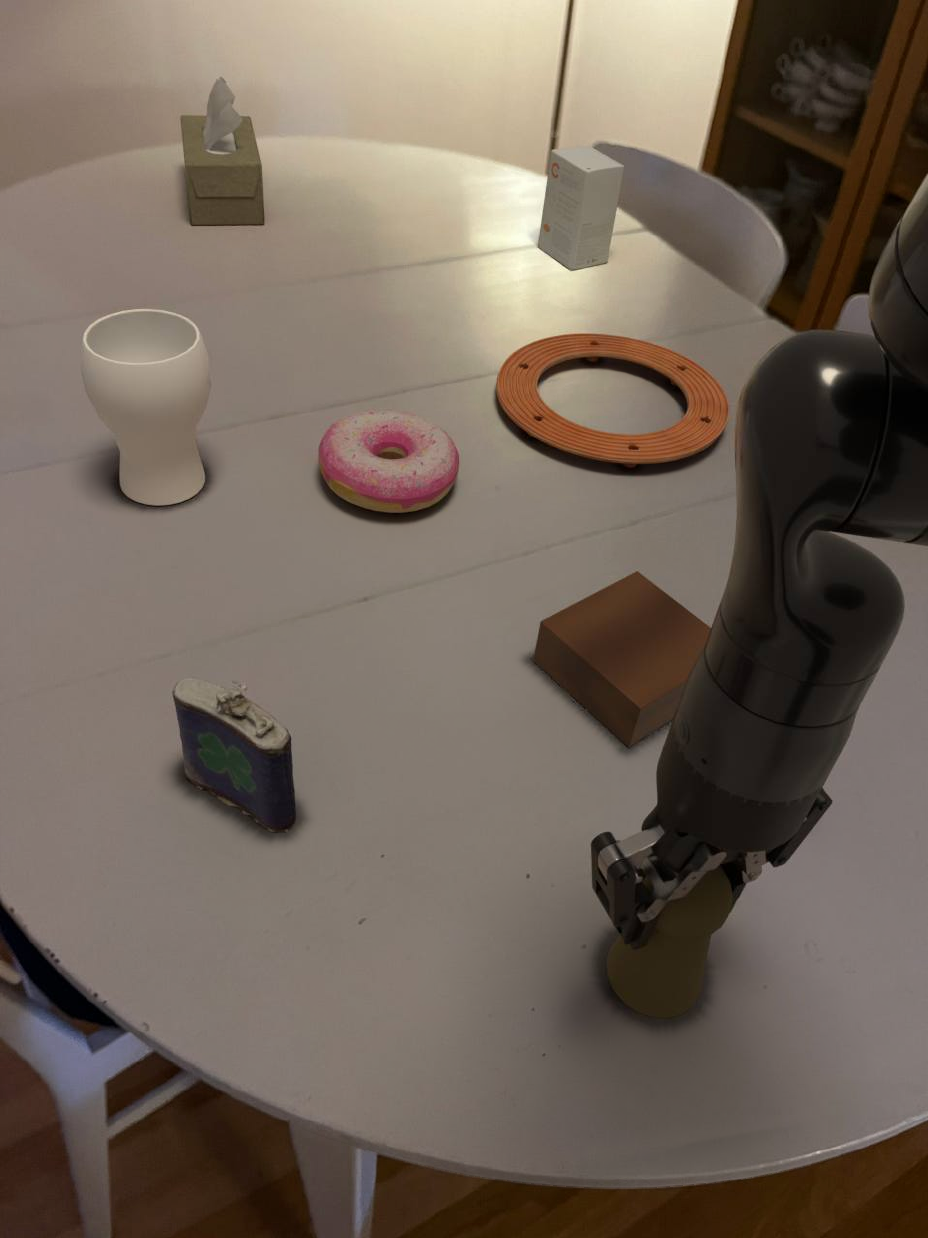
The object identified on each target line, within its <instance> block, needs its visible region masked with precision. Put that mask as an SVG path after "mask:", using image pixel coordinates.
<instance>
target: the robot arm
mask: <svg viewBox="0 0 928 1238" xmlns="http://www.w3.org/2000/svg"><path fill="white" fill-rule="evenodd" d="M867 306H868V307H867V308H868V317H869V323H870V327H871V330H872V332H873V335H871V334H867V333H859V332H853V331H845V330H838V329H837V330H836V329H827V328H816V329H815V328H814V329H813V328H812V329H811V328H810V329H806V330H803V331H797V332H795V333H793V334H791V335H789V336H787V337H785V338H783V339H782V340H780V341H779V342H778V343H777V344H775V345H774V346H773V347H771V348H770V349H769V350H768V351H767V352H766V353H765V354H764V355H763V356H762V357H761V358H760V359H759V360H758V362H757V363H756V365H755V366H754V368H752V370H751V372H750V373H749V374H748V375H747V378H746V380H745V382H744V385H743V387H742V389H741V392H740V396H739V399H738V403H737V408H736V413H735V427H734V430H735V431H734V466H735V467H734V468H735V469H734V470H735V492H736V493H735V495H736V518H735V519H736V520H735V532H734V534H735V535H734V544H733V553H732V558H731V563H730V564H731V565H730V569H729V574H728V578H727V581H726V585H725V588H724V591H723V594H722V596H721V599H720V601H719V602H720V603H719V605H718V608H717V610H716V614H715V616H714V619H713V622H712V624H711V626H710V628H711V630H710V633H709V636H708V638H707V641H706V643H705V646H704V648H703V649H702V651H701V653H700V655H699V656H698V658H697V660H696V661H695V663H694V665H693V667H692V669H691V671H690V674H689V676H688V679H687V681H686V684H685V687H684V690H683V692H682V695H681V698H680V701H679V704H678V707H677V709H676V712H675V715H674V718H673V719H672V720H671V724H670V727H669V729H668V732H667V735H666V737H665V741H664V744H663V746H662V750H661V752H660V755H659V758H658V761H657V765H656V773H655V781H656V805H655V806H654V807H653V809H652V810H651V812H650V813H649V814H648V815H647V816H646V817H645V818H644V820H643V821H642V824H641V831H639V832H637V833H635V834H633V835H631V836H629V837H627V838H624V839H622V840H619V839H616V838H615V836H614V835H613V833H612V832H611V831H604V832H601V833H600V834H597V835H596V836H595V837H594V838H593V839H592V840H591V842H590V863H591V888H592V890H593V892H594V894H595V895H596V898H597V899H598V901H599V902H600V904H601V906H602V908H603V909H604V911H605V913H606V914H607V916H608V917H609V920H610V922H611V923H612V925H613V926H614V928H615V930H616V932H617V933H618V936H619V935H620V937H621V938H622V940H623V942H624V944H625V945H627V944H629V945H630V947H631V948H632V949H633V950H637V949H640V948H642V947H645V946H646V945H647V943H648V940H649V938H650V936H651V933H652V931H653V928H654V926H655V924H656V921H657V919H658V917H659V916H658V914H659V913H660V912H661V910H662V909H663V908H664V907H665V906H666V905H667V903H668V902H669V901H670V900H676V899H682V898H684V897H685V896H686V895H687V894H688V893H689V892H690V891H691V889H692V888H693V887H694V886H695V885H696V884H697V882H698V881H699V880H700V879H701V878H702V877H703V876H704V874H705V873H706V872H707V871H709V870H714V869H716V868H717V867H718V865H720V866H721V867H722V869H723V870H724V872H725V874H726V875H727V877H728V879H729V881H730V884H731V889H732V905H731V911H730V913H729V914H731V913H732V911H733V909H734V907H735V905H736V903H737V901H738V900H739V898H740V897H741V895H742V893H743V891H744V890H745V888H746V885H747V884H749V883H752V882H754V881H756V880H757V879H758V878H759V877H760V876H761V875H762V873H763V867H762V866H764V865H766V864H768V863H770V865H771V866H772V867H773V868H778V867H781V866H783V865H785V864H786V863H788V861H789V860H790V859H791V858H792V856H793V855H794V853H796V851H797V849H799V847H800V846H801V845H802V843H803V842H804V840H805V839H806V838H807V837H808V835H809V834H810V833H811V831H812V830H813V829H814V828H815V826H816V825H817V824H818V822H819V821H820V820H821V819H822V817H824V815H825V813H826V812H827V811H828V809H830V807H831V806H832V804H833V799H832V798H831V797H830V795H829V794H828V793H827V792H826V791H825V788H824V786H825V784H826V782H827V780H828V778H829V777H830V774H831V772H832V771H833V768H834V767H835V765H836V763H837V761H838V759H839V758H840V756H841V754H842V752H843V750H844V748H845V747H846V745H847V743H848V740H849V738H850V736H851V733H852V731H853V727H854V723H855V720H856V716H857V714H858V711H859V709H860V706H861V705H862V702H863V701H864V699H865V698H866V695H867V693H868V691H869V690H870V687H872V684H873V682H874V680H875V678H876V677H877V675H878V673H879V671H880V670H881V667H882V665H883V663H884V661H885V659H887V658H886V657H888V654H889V652H890V650H891V648H892V647H893V644H894V643H895V641H896V639H897V637H898V634H899V631H900V629H901V626H902V624H903V619H904V615H905V607H906V606H905V605H906V604H905V595H904V592H903V591H904V590H903V588H902V586H901V582H900V581H899V579H898V577H897V576H896V574H895V573H894V572H893V570H892V569H891V568H890V567H889V565H888V564H886V563H885V562H884V561H883V559H881V558H879V556H877V555H876V554H874V553H873V552H872V551H870V550H868V549H867V548H865V547H863V546H862V545H860V544H858V543H856V542H854V541H852V540H850V539H847V538H845V537H844V536H840V535H838V534H844V535H852V536H856V537H862V538H870V539H875V540H876V539H877V540H882V541H883V540H885V541H891V542H896V543H904V544H911V545H916V546H923V547H928V172H926V175H925V176H924V178H923V180H922V181H921V183H920V185H919V187H918V188H917V190H916V191H915V193H914V195H913V197H912V198H911V200H910V202H909V203H908V205H907V207H906V209H905V210H904V213H903V214H902V215H901V217H900V219H899V220H898V222H897V224H896V225H895V227H894V229H893V231H892V232H891V234H890V237H889V238H888V240H887V242H886V243H885V245H884V247H883V249H882V251H881V253H880V255H879V259H878V261H877V262H876V266H875V268H874V270H873V273H872V276H871V280H870V285H869V289H868V305H867ZM836 533H837V534H836ZM673 871H675V872H677V873H679V874H678V875H677V876H676V875H675V873H674V872H673ZM646 876H647V877H648V878H649V880H650V882H651V883H652V885H653V892H652V894H651V895H650V893H649V891H648V890H647V888H646V887H645V885H644V883H643V882H642V881H643V880H644V879H645V878H646Z"/></svg>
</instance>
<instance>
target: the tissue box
mask: <svg viewBox="0 0 928 1238" xmlns="http://www.w3.org/2000/svg"><path fill="white" fill-rule="evenodd" d="M235 99H236V96H235V94H234V93H233V91H232V90H231V88H230V87H229V85H228V84H227V81H226V80H225V78H223V77H222V76H219V78H216V79H215V82H214V84H213V85H212V88H211V90H210V93H209V95H208V100H207V103H206V104H207V105H206V115H190V114H189V115H186V114H185V115H183V114H181V115H180V117H179V118H180V127H181V128H180V130H181V141H182V150H183V162H184V171H185V172H184V173H185V179H186V180H185V182H186V191H187V192H186V193H187V202H188V211H189V212H188V214H189V221H190V225H191V226H263V225H265V222H266V221H265V204H264V203H265V201H264V200H265V199H264V185H263V183H264V181H263V179H264V178H263V164H262V159H261V156H260V152H259V151H260V150H259V147H258V143H257V139H256V134H255V130H254V127H253V121H252V117H250V116H249V115H245V116H244V115H240V114H239V113H238V112H237V110H236V109H235V108H234V107H233V105H234V103H235Z"/></svg>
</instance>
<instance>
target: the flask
mask: <svg viewBox="0 0 928 1238" xmlns="http://www.w3.org/2000/svg"><path fill="white" fill-rule="evenodd" d="M232 684H237V686H238V687H239V688H240V689H241V690H240V689H239V688H238V687H236V686H233V685H229V686H227V687H223V686H220V685H218V684H215V683H213V682H210V681H208V680H203V679H202V678H200V677H199V678H198V677H187V678H184V679H182V680H180V681H178V682H176V684H175V685H174V687H173V690H172V692H171V693H172V699H173V702H174V707H175V712H176V718H177V719H176V720H177V723H178V728H179V738H180V741H181V742H180V743H181V751H182V758H183V759H182V760H183V766H184V774H185V776H186V778H187V779H188V780H189V781H190V782H191V783H192V784H193V785H195V786H196V787H197V789H199V790H203V789H204V790H206V791H208V792H209V793H211V794H212V795H213V796H214V797H216V799H217V800H219V801H221V802H222V804H226V805H227V806H228V807H235V808H239V809H240V810H242V815H247V816H251V817H252V818H253V819H254V820H255V823H258V824H259V825H261V826H262V827H263V828H265V829H267V830H268V831H269V832H273V833H277V832H278V833H281V832H286V833H288V831H289V830H290V829H291V828H292V827H293V826H294V825H295V824H296V822H297V818H298V815H297V809H296V795H295V794H296V790H295V783H294V768H293V767H294V766H293V754H292V753H293V752H292V736H291V734H290V732H289V730H288V729H287V727H285V726H284V724H282V723H281V722H279V720H277V719H276V717H274V716H273V715H271V714H270V713H269V712H268V711H266V710H265V709H264V708H263V707H261V706H259V704H257V703H255V702H253V701H252V700H251V699H249V698H248V697H245V695H243V694H242V691H247V690H248V685H247V683H245V682H244V681H237V680H235V679H233V680H232Z"/></svg>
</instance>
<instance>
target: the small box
mask: <svg viewBox="0 0 928 1238" xmlns="http://www.w3.org/2000/svg"><path fill="white" fill-rule="evenodd" d="M624 171H625V165H623V164H622V163H620V162H619V161H616V160H615V159H614V158H613V159H612V158H611V157H610V156H608V155H606V154H604V153H603V152H601V151H599V150H597V149H595V148H594V147H592V146H591V145H588V144H586V145H579V146H570V147H562V148H555V149H551V150H550V157H549V165H548V171H547V177H546V185H545V192H544V200H543V205H542V206H543V207H542V213H541V222H540V228H539V234H538V240H537V241H538V242H537V247H538V248H539V249H540V250H542V251H543V252H545V254H548V255H549V256H551V257H552V258H553V259H555V260H556V261H558V262H559V263H560V264H561V265H563V266H564V267H566V268H567V269H569V270H570V271H573V270H579V269H584V268H589V267H594V266H598V265H603V264H606V263H608V259H609V254H610V248H611V242H612V237H613V232H614V226H615V222H616V214H617V209H618V206H619V205H618V204H619V198H620V195H621V188H622V182H623V177H624Z"/></svg>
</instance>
